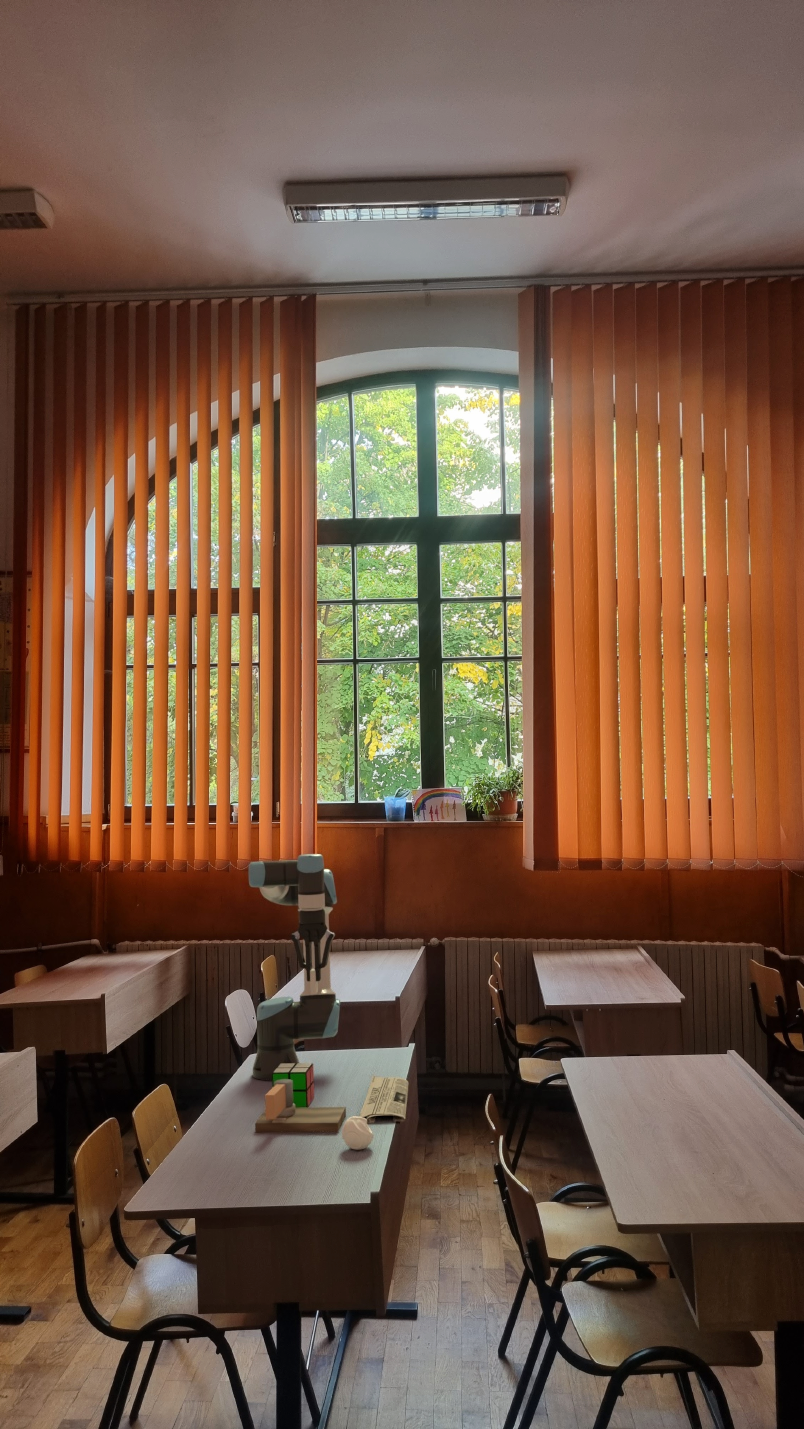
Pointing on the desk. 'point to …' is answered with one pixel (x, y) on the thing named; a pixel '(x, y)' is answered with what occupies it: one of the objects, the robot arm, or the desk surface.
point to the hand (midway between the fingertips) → (314, 992)
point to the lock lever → (279, 1098)
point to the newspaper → (386, 1098)
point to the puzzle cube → (297, 1081)
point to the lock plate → (302, 1120)
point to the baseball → (357, 1133)
